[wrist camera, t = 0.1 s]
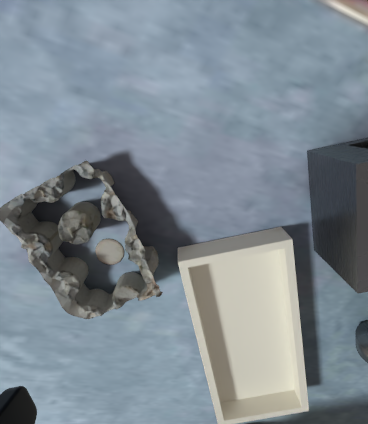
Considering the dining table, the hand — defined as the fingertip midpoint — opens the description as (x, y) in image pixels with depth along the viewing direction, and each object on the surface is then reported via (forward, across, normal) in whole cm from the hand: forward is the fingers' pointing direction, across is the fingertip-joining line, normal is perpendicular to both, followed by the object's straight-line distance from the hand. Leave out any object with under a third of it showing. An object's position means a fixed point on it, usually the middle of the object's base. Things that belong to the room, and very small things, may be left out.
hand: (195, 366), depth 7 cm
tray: (+15, -3, +12) cm, 19 cm away
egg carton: (+15, +7, +1) cm, 17 cm away
